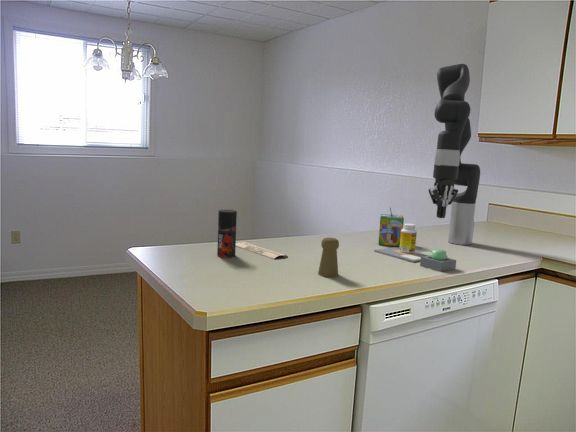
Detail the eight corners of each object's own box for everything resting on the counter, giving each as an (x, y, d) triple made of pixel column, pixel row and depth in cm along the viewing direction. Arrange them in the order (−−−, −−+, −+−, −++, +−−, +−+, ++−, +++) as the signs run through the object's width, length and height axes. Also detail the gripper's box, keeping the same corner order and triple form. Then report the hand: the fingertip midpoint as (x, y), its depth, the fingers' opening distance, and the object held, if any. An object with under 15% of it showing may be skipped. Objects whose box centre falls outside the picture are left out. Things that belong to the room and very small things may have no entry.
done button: (436, 260, 158) (437, 249, 157) (447, 263, 155) (449, 251, 154) (428, 262, 155) (429, 250, 155) (439, 265, 152) (440, 253, 151)
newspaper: (287, 259, 159) (288, 254, 159) (271, 261, 154) (271, 256, 154) (247, 245, 176) (247, 241, 176) (231, 247, 172) (231, 243, 172)
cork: (316, 271, 143) (318, 235, 141) (336, 271, 143) (338, 236, 142) (319, 276, 137) (321, 239, 135) (340, 277, 137) (342, 240, 136)
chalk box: (401, 247, 184) (405, 209, 182) (378, 245, 186) (381, 208, 184) (401, 242, 193) (404, 207, 191) (378, 240, 195) (381, 205, 193)
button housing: (434, 263, 161) (435, 254, 160) (455, 268, 154) (456, 259, 154) (420, 265, 156) (420, 257, 156) (440, 271, 150) (441, 262, 149)
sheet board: (407, 246, 186) (407, 245, 185) (447, 256, 171) (447, 255, 171) (374, 251, 174) (374, 249, 174) (413, 262, 160) (413, 260, 160)
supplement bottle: (411, 254, 169) (414, 226, 168) (396, 251, 172) (399, 224, 171) (417, 252, 174) (419, 224, 172) (402, 249, 177) (405, 222, 175)
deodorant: (238, 254, 159) (239, 210, 156) (230, 258, 153) (231, 212, 151) (222, 252, 160) (223, 209, 158) (214, 256, 155) (215, 211, 153)
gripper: (449, 164, 158) (443, 215, 160) (423, 162, 150) (418, 216, 152) (469, 165, 152) (462, 219, 154) (443, 164, 144) (437, 220, 146)
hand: (440, 217), depth 153 cm, fingers closed
